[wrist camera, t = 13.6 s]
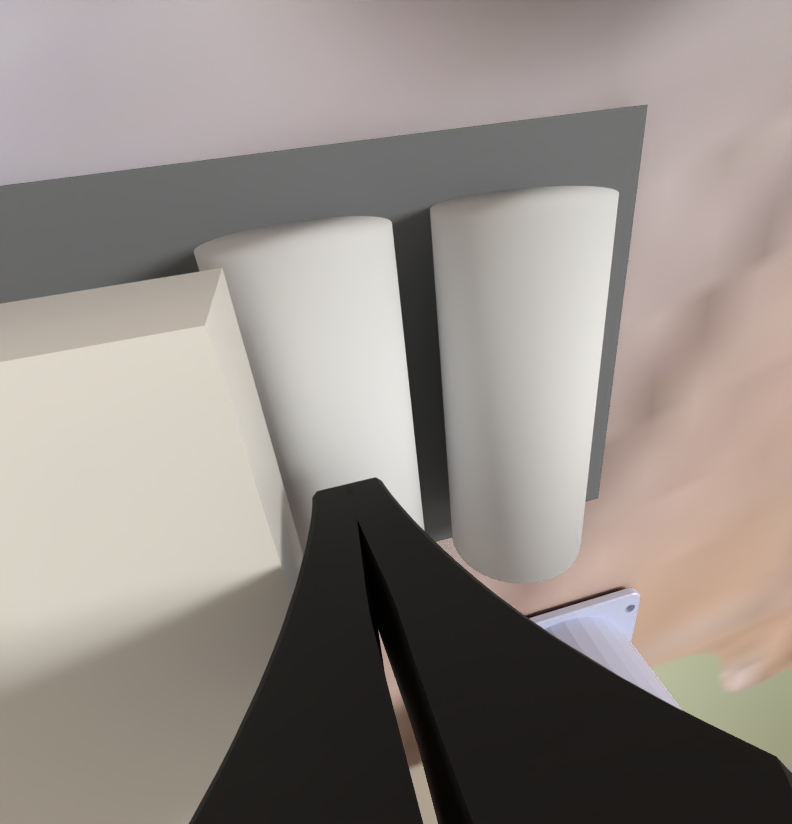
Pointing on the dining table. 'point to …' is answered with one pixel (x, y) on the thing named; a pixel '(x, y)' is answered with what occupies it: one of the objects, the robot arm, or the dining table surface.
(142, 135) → the dining table surface
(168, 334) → the slab
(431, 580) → the robot arm
